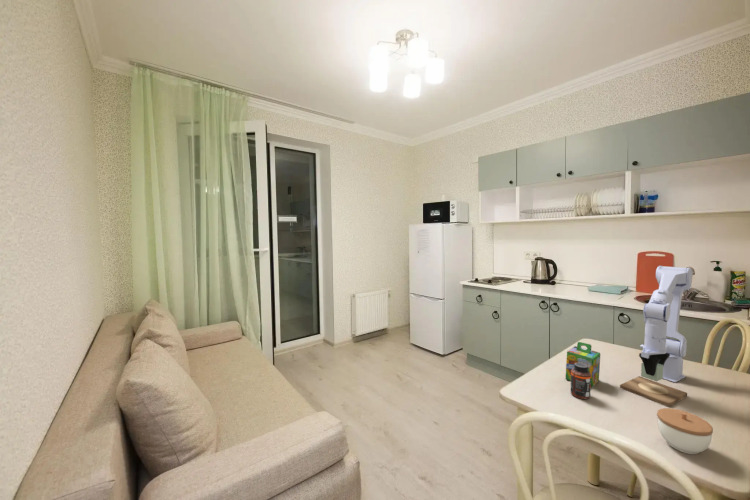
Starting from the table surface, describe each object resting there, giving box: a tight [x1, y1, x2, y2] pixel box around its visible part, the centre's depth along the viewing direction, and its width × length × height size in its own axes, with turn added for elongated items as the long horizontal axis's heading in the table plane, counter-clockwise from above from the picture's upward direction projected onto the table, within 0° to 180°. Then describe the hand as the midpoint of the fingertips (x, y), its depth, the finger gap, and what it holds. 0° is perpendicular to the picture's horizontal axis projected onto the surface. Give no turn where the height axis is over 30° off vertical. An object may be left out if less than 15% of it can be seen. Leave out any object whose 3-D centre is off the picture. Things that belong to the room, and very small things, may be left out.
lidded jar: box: [656, 407, 714, 455], centre depth 84 cm, size 11×11×9 cm
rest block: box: [640, 362, 664, 382], centre depth 111 cm, size 4×4×5 cm
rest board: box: [619, 375, 688, 408], centre depth 111 cm, size 14×14×1 cm
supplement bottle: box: [570, 363, 592, 400], centre depth 110 cm, size 6×6×11 cm
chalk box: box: [565, 341, 601, 389], centre depth 120 cm, size 9×9×15 cm
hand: (653, 373), depth 111 cm, fingers closed on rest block, 4 cm apart
